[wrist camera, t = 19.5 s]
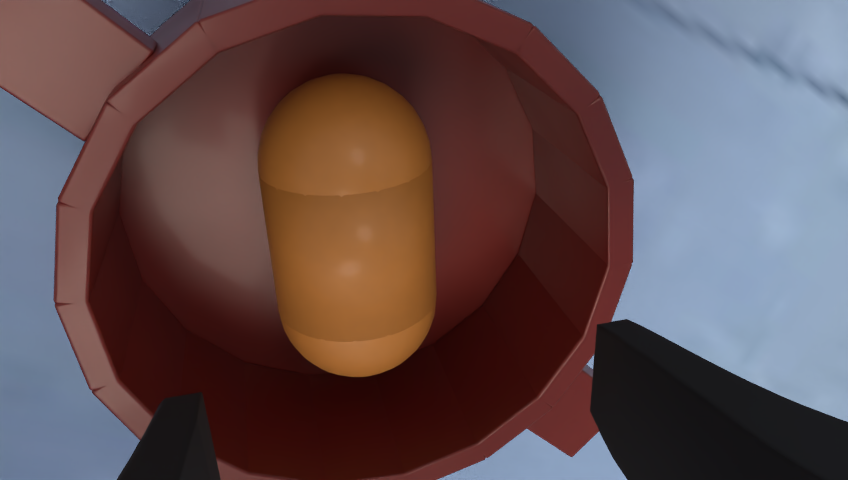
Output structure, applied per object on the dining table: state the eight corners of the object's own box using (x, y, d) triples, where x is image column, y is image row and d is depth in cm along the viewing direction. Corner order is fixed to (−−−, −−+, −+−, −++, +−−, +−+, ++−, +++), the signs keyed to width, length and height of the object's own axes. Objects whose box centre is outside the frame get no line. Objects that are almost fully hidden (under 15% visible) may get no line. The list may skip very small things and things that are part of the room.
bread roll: (418, 311, 24) (457, 393, 20) (281, 334, 23) (294, 424, 19) (406, 50, 20) (450, 89, 16) (242, 64, 19) (248, 109, 15)
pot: (417, 471, 27) (456, 594, 23) (-109, 183, 19) (-223, 283, 14) (677, 206, 25) (782, 282, 20) (209, -262, 16) (202, -321, 12)
